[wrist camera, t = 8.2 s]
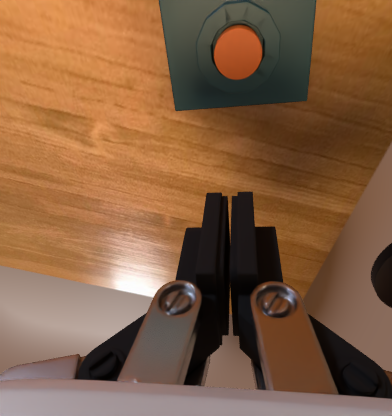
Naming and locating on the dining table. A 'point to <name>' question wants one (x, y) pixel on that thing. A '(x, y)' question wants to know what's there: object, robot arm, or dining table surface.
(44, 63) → the dining table surface
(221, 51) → the orange round cap
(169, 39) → the teal box orange button
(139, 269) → the dining table surface
